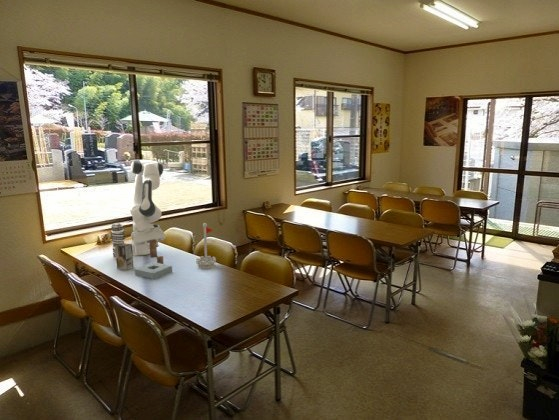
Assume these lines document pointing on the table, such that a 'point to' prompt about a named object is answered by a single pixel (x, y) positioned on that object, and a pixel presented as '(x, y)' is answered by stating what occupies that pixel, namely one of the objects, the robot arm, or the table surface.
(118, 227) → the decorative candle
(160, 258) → the short pin
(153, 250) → the long pin
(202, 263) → the flag stand
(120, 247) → the coffee box
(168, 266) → the bored board
